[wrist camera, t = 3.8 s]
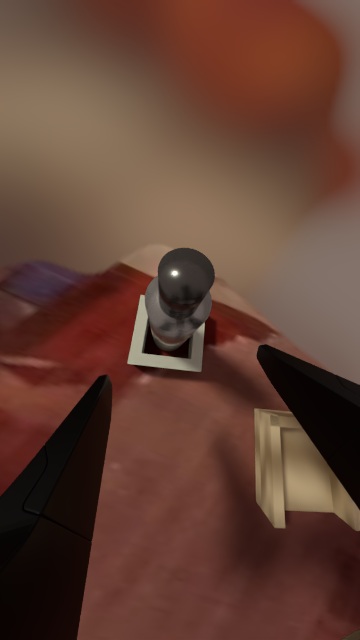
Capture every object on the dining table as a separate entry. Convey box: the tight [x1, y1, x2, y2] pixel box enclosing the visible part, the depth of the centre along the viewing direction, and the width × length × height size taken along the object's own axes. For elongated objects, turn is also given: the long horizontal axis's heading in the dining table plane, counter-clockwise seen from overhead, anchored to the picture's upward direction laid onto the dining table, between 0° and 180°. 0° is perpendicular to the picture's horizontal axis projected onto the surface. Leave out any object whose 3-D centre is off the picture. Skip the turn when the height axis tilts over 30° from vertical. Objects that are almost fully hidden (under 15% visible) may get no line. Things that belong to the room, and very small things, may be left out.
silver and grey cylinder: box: [145, 248, 215, 351], centre depth 14 cm, size 4×4×15 cm
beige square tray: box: [254, 408, 360, 531], centre depth 18 cm, size 9×9×3 cm
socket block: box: [128, 295, 205, 372], centre depth 20 cm, size 8×8×2 cm
